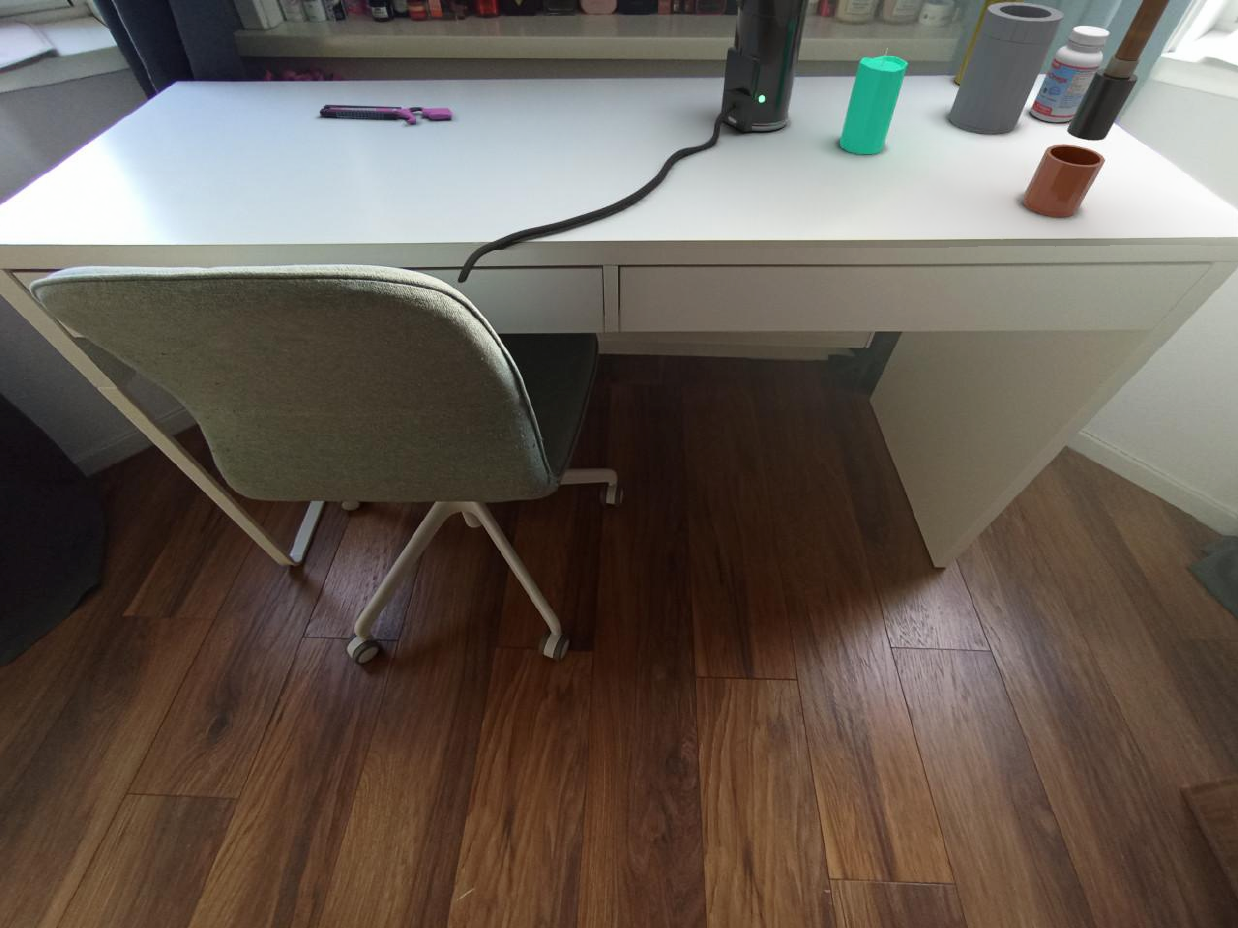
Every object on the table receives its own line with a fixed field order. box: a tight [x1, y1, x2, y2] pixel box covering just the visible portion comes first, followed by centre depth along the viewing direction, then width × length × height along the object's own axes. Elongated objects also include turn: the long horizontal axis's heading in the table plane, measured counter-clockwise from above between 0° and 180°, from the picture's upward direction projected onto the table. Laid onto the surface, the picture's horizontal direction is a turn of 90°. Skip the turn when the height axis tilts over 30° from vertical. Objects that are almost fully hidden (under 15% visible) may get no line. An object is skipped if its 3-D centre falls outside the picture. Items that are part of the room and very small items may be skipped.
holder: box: [1021, 143, 1106, 218], centre depth 76 cm, size 6×6×6 cm
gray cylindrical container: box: [948, 2, 1065, 135], centre depth 91 cm, size 9×9×14 cm
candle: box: [839, 47, 909, 155], centre depth 86 cm, size 6×6×12 cm
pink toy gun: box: [319, 104, 453, 124], centre depth 97 cm, size 21×1×5 cm
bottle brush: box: [1066, 0, 1171, 142], centre depth 65 cm, size 4×4×20 cm
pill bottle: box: [1030, 25, 1110, 123], centre depth 93 cm, size 6×6×11 cm
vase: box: [954, 0, 1024, 86], centre depth 102 cm, size 6×6×14 cm
